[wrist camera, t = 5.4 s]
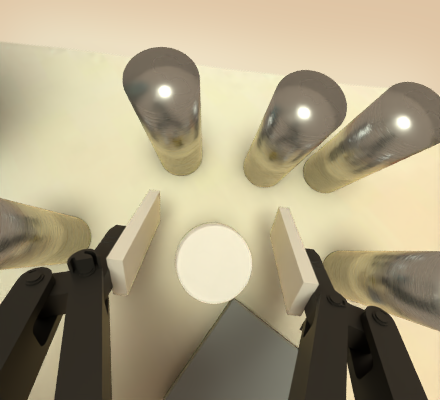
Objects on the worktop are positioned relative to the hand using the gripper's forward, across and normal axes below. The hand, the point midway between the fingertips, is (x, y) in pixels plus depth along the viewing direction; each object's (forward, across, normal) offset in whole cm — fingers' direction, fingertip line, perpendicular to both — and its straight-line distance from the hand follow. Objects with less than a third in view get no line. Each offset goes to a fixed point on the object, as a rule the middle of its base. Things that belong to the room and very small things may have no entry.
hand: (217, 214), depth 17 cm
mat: (-6, +4, -11) cm, 14 cm away
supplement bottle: (0, 0, -5) cm, 5 cm away
